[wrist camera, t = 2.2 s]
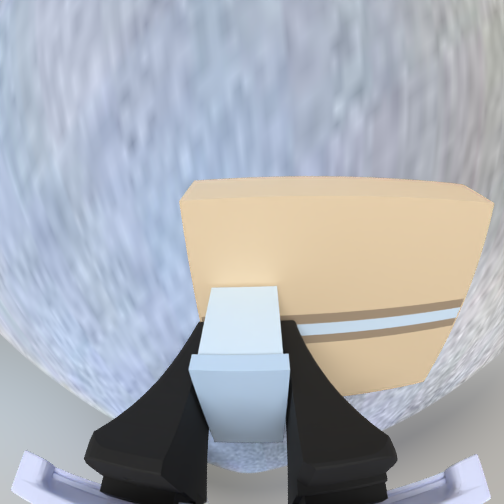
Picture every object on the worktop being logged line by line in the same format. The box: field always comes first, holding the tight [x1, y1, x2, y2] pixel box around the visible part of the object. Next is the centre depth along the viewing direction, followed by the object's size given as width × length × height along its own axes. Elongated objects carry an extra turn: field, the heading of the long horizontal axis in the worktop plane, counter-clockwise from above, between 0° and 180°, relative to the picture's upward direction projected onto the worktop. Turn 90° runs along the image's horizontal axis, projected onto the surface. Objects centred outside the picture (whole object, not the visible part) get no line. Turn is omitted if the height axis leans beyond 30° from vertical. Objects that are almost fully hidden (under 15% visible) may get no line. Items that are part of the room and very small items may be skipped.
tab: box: [189, 286, 290, 443], centre depth 11 cm, size 3×5×4 cm, turn 2°
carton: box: [179, 176, 494, 396], centre depth 13 cm, size 13×12×3 cm
